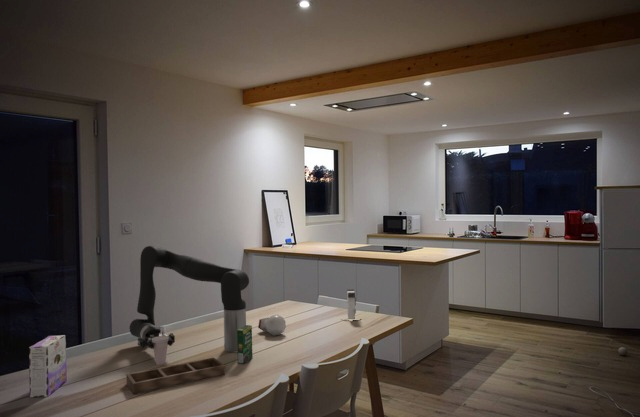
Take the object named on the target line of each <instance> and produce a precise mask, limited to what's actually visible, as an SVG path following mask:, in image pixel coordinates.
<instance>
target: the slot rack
mask: <svg viewBox="0 0 640 417" xmlns="http://www.w3.org/2000/svg"><path fill="white" fill-rule="evenodd" d="M225 367H226V366H225V364H224V363H222V362H221V361H219V360H218V359H216V358H215V357H209V358H205V359H198V360H193V361H189V362H184V363H183V362H182V363H178V364H174V365H168V366H163V367H158V368H152V369H145V370H141V371H137V372H136V371H135V372H129V373H126V378H125V379H126V386H127V387H128V389H129V391H130V392H131V393H132V395H134V396H135V395H139V394H143V393H144V394H145V393H148V392H152V391H156V390H162V389H167V388H171V387H176V386H180V385H181V386H182V385H184V384H190V383H194V382H199V381H204V380H208V379H213V378H217V377H222V376H225V375H226V369H225Z"/></svg>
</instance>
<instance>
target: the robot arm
mask: <svg viewBox="0 0 640 417" xmlns="http://www.w3.org/2000/svg"><path fill="white" fill-rule="evenodd" d="M139 261H140V262H139V263H140V265H139V266H140V271H139V272H140V273H139V274H140V279H139V280H140V281H139V282H140V283H139V284H140V285H139V293H138V294H139V295H138V302H137V308H136V312H137V313H138V314H142V315H144V316H146V317H147V318H145V319H143V318H136V319H133V320H132V321H131V322H130V324H129V332H130V334H131V335H132V336H134V337H136V338H137V346H139V347H140V348H146V347H147V348H149V349H151V350H154V349H153V348H154V344H153V342H152V338H154V337H158V336H161V328H159V327H157V326H156V322H155V315H154V314H155V305H156V304H155V303H156V298H157V297H156V295H157V294H156V288H155V287H156V286H155V284H154V271H155V270H154V269H155V268H163V269H169V270H172V271H175V272H176V273H178V274H179V275H180V276H183V277H184V278H187V279H190V280H194V281H199V282H206V283H207V282H209V283H218V284H220V297H221V303H222V306H223V341H224V342H223V343H224V344H223V346H224V347H223V348H224V351H225V352H228V353H238V346H237V330H239V329H241V328H242V327H244V326H245V325H247V312H246V311H247V309H246V308H247V306H246V301H245V300H244V299H242V291H244V290H245V289H246V288H248V286H249V283H250V278H249V275H248V274H247V273H246V272H245V271H243V270H242V269H238V268H237V269H236V268H231V267H226V266H225V267H224V266H221V265H218V264H216V263H213V262H211V261H207V260H203V259H201V258H197V257H194V256H189V255H185V254H184V255H183V254H178V253H175V252H173V251H171V250H168V249H166V248H163V247H161V246H156V245H155V246H154V245H148V246H145V247H144V248H143V249H142V250H141V253H140V260H139ZM162 336H167V337H169V340H168V346H170V347H172V346H173V344H174V343H176V341H175V339H176V338H175V337H176V335H174V333H173V332H170V333H169V334H168V335H166V334H164V332H163V331H162Z"/></svg>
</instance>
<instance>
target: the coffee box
mask: <svg viewBox="0 0 640 417" xmlns="http://www.w3.org/2000/svg"><path fill="white" fill-rule="evenodd" d="M237 346H238V352H237V364H238V365H245V364H246V363H247V362H249V361H250V360H251V359H253V326H252V325H250V324H249V325H247V324H246V325H245V326H244V327H242V328H241V329H239V330H237Z"/></svg>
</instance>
